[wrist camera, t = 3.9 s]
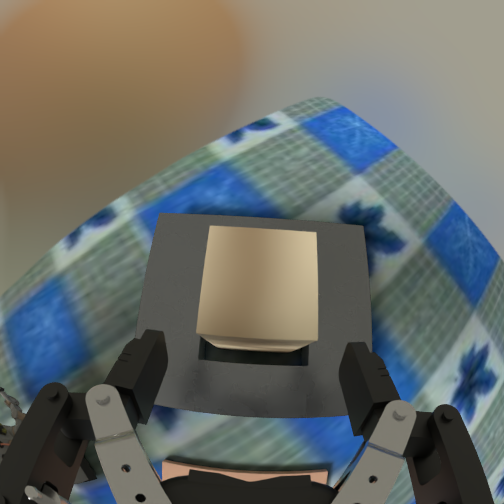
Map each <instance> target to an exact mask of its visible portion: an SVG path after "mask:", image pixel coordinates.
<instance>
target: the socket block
mask: <svg viewBox="0 0 504 504" xmlns="http://www.w3.org/2000/svg"><path fill="white" fill-rule="evenodd" d="M210 226H228V227H246V228H262V229H277V230H292V231H306V232H316V237H317V265H318V340H317V341H315V342H313V343H310V344H308V345H306V346H303V347H302V359H301V366H279V365H256V364H241V363H228V362H218V361H208V360H204V356H205V345H206V340H205V339H204V338H202V337H201V336H200V335H198V334H197V333H196V329H197V320H198V311H199V302H200V294H201V286H202V278H203V271H204V263H205V256H206V249H207V242H208V235H209V229H210ZM146 329H152V330H158V331H163V332H164V335H165V341H166V347H167V353H168V367H167V371H166V373H165V376H164V378H163V381H162V384H161V386H160V389H159V392H158V394H157V397H156V400H155V402H154V404H155V405H160V406H166V407H171V408H177V409H183V410H189V411H196V412H203V413H211V414H220V415H231V416H244V417H263V418H314V417H333V416H345V415H348V411H347V407H346V404H345V400H344V396H343V393H342V389H341V385H340V382H339V376H338V372H339V366H340V363H341V360H342V357H343V354H344V351H345V348H346V345H347V343H348V342H365V343H366V345H367V347H368V349H369V351H370V353H371V352H372V319H371V299H370V284H369V272H368V262H367V252H366V244H365V236H364V228H363V226H360V225H349V224H338V223H327V222H315V221H303V220H289V219H275V218H260V217H243V216H224V215H203V214H177V213H159V217H158V221H157V225H156V229H155V233H154V237H153V242H152V246H151V250H150V255H149V260H148V265H147V269H146V274H145V280H144V285H143V290H142V296H141V302H140V308H139V314H138V321H137V328H136V335H135V338H137V339H140V338H141V337H142V335H143V333H144V331H145V330H146Z"/></svg>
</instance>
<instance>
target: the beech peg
mask: <svg viewBox="0 0 504 504" xmlns="http://www.w3.org/2000/svg"><path fill="white" fill-rule="evenodd" d="M196 333H197V334H198V335H200V336H201V337H202V338H204V339H205V340H207V341H208V342H210V343H211V344H213V345H214V346H216V347H217V348H219V349H228V350H241V351H256V352H276V353H289V352H292V351H294V350H296V349H299V348H301V347H303V346H306V345H308V344H310V343H313V342H315V341H317V340H318V265H317V237H316V232H306V231H292V230H277V229H262V228H246V227H228V226H210V229H209V235H208V242H207V249H206V256H205V263H204V271H203V278H202V286H201V294H200V302H199V311H198V320H197V329H196Z"/></svg>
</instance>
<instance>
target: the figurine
mask: <svg viewBox="0 0 504 504" xmlns="http://www.w3.org/2000/svg"><path fill="white" fill-rule="evenodd" d="M0 394H1V395H2V396H3V397H4V398H5V399H6V400H5V401H4V403H5V404H6V405H7V406H8V407H9V408H10V409H11V411H12V418H14V419H15V421H16V425H15V426H12V427H11V426H5V425H2V424H1V423H0V464H1V461H2V459H3V457H4V455H5V453H6V451H7V449H8V447H9V445H10V443H11V441H12V439H13V437H14V435H15V433H16V432H17V430H18V428H19V426H20V424H21V422H22V421H23V419H24V417H25V415H26V414H25V413H22V410H21V408H20V407H19V406H18V405H19V402H18V401H17V400H16V399H15V398H13V397H11V396H8V395H7V394H6V392H4V388H1V387H0ZM95 479H97V478H96V476H95V475H94V470H93V469H91V468H90V467H89V462H88V461H87V460H85V458H84V457H83V459H82V462H81V464H80V467H79V470H78V473H77V476H76V479H75V482H74V484H78V483H82V482H87V481H91V480H95ZM68 501H69V500H68Z"/></svg>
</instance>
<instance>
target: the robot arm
mask: <svg viewBox="0 0 504 504" xmlns="http://www.w3.org/2000/svg"><path fill="white" fill-rule="evenodd" d="M167 367H168V353H167V347H166V341H165V335H164V332H163V331H158V330H152V329H146V330H145V331H144V333H143V335H142V337H141V338H140V339H137V338H134V339H133V340H132V341H130V342H129V343H128V344H126V346H125V348H124V349H123V351H122V354H120V356H119V358H118V361H116V363H115V365H114V366H113V368H112V370H111V371H110V373H109V375H108V377H107V378H106V380H105V382H104V383H103V384H100V385H96V386H94V387H92V388H91V389H90V390H89V391H88V392H87V393H69V392H68V390H67V388H66V387H65V386H64V385H63V384H61V383H56V382H54V383H49V384H47V385H45V386H44V387H43V388H42V389H41V390H40V392H39V394H38V395H37V397H36V398H35V400H34V402H33V403H32V405H31V407H30V408H29V410H28V412H27V414H26V415H25V417H24V419H23V421H22V422H21V424H20V426H19V428H18V430H17V432H16V433H15V435H14V437H13V439H12V441H11V443H10V445H9V447H8V449H7V451H6V453H5V455H4V457H3V459H2V461H1V464H0V504H71V503H70V502H69V501H68V500H69V497H70V494H71V491H72V488H73V485H74V482H75V479H76V476H77V473H78V470H79V467H80V464H81V462H82V459H83V456H84V453H85V451H86V448H87V445H88V443H89V440H96V442H95V448H96V451H97V454H98V457H99V460H100V463H101V466H102V468H103V471H104V474H105V476H106V479H107V481H108V484H109V486H110V488H111V491H112V493H113V495H114V497H115V500H116V502H117V504H384V503H385V501H386V499H387V497H388V495H389V493H390V491H391V489H392V487H393V485H394V483H395V481H396V479H397V477H398V475H399V472H400V470H401V468H402V465H403V463H404V460H405V457H406V461H407V465H408V469H409V473H410V477H411V482H412V486H413V490H414V495H415V500H416V504H494V501H493V498H492V495H491V491H490V488H489V485H488V482H487V479H486V476H485V473H484V471H483V468H482V465H481V462H480V460H479V457H478V455H477V452H476V450H475V447H474V445H473V442H472V440H471V438H470V435H469V433H468V431H467V429H466V426H465V424H464V422H463V420H462V418H461V415H460V413H459V412H458V410H457V409H456V408H455V407H453V406H451V405H447V404H443V405H440V406H438V407H437V408H436V409H435V410H434V412H433V413H432V412H419V411H415V409H414V407H413V406H412V405H411V404H409V403H408V402H406V401H402V400H401V399H400V396H399V394H398V392H397V390H396V388H395V385H394V383H393V381H392V379H391V377H390V376H389V372H388V370H387V369H386V366H385V364H384V362H383V360H382V359H381V358H380V357H379V356H378V355H377V354H376V353H375V352H371V353H370V351H369V349H368V347H367V345H366V343H365V342H348V343H347V345H346V348H345V351H344V354H343V357H342V360H341V363H340V366H339V372H338V376H339V382H340V385H341V389H342V393H343V396H344V400H345V404H346V407H347V411H348V415H349V419H350V423H351V427H352V431H353V435H354V436H360V435H363V438H364V441H363V442H362V444H361V446H360V447H359V449H358V451H357V452H356V454H355V456H354V457H353V459H352V461H351V462H350V464H349V465H348V467H347V469H346V470H345V472H344V473H343V475H342V476H341V477H340V479H339V480H338V481H337V483H336V484H335V485H334V487H333V488H332V487H330V486H328V485H325V484H322V483H319V482H315V481H311V476H310V475H293V476H278V477H274V478H269V479H264V480H258V481H252V482H249V481H244V480H241V479H237V478H234V477H230V476H227V475H224V474H221V473H215V472H206V471H199V470H193V469H190V470H189V475H184V476H177V477H173V478H169V479H167V480H164V481H161V479H160V477H159V475H158V474H157V472H156V470H155V469H154V467H153V465H152V463H151V461H150V459H149V457H148V455H147V453H146V451H145V449H144V447H143V445H142V443H141V441H140V439H139V437H138V435H137V432H136V430H135V429H136V426H137V424H138V423H141V424H145V425H146V424H147V422H148V419H149V416H150V413H151V411H152V408H153V405H154V402H155V400H156V397H157V394H158V392H159V389H160V386H161V384H162V381H163V378H164V376H165V373H166V371H167ZM437 452H438V453H437ZM438 455H439V456H438Z"/></svg>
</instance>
